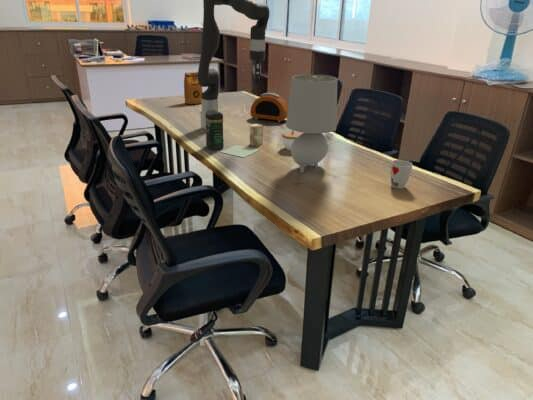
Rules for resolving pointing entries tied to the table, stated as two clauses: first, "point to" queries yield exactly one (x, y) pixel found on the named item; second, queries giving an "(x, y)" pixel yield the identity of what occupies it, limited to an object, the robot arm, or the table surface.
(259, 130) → the maple block
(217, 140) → the coffee jar
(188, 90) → the coffee package
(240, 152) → the green mat
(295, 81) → the table lamp
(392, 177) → the cup
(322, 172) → the table surface
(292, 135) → the lidded jar
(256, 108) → the alarm clock
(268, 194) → the table surface
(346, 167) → the table surface
